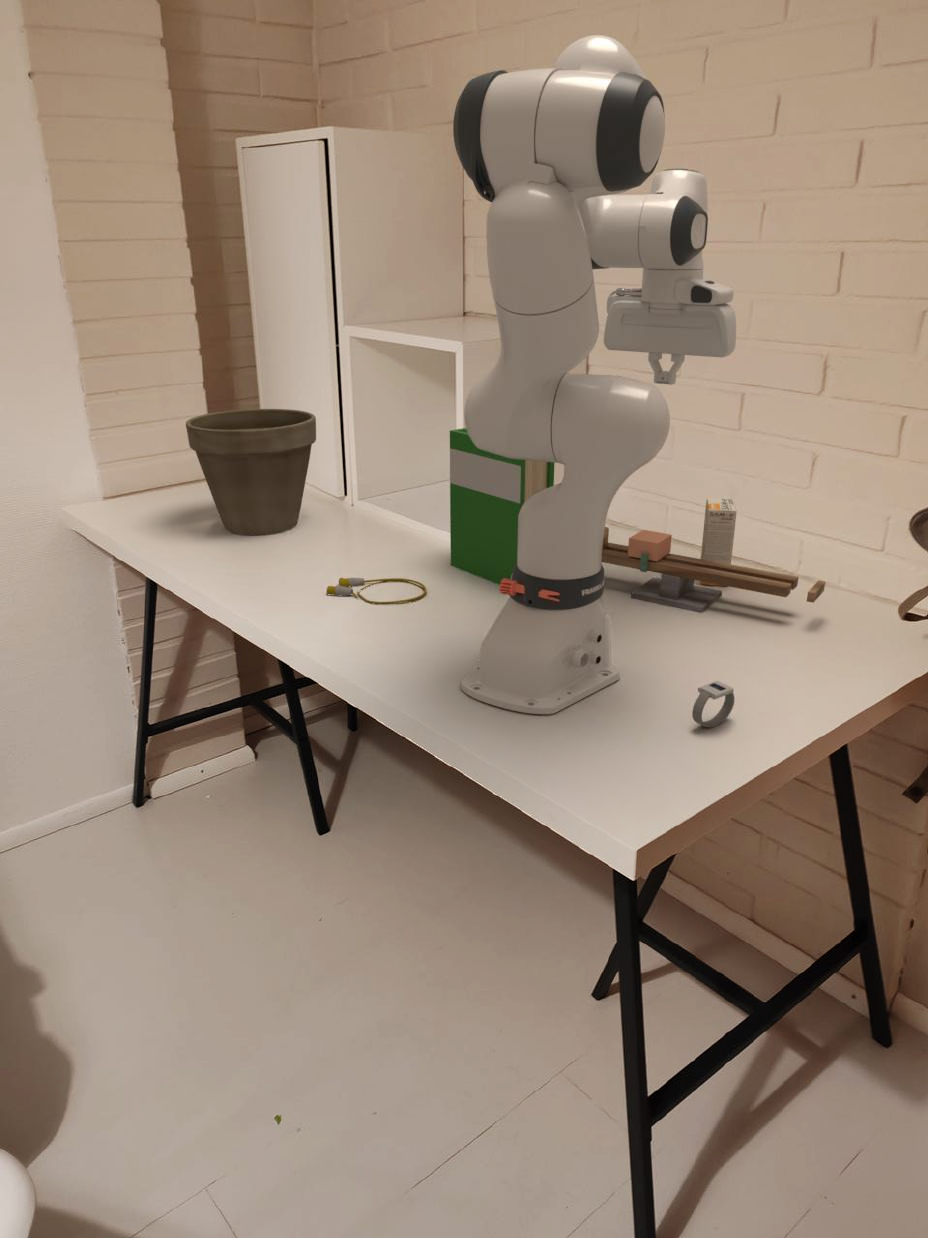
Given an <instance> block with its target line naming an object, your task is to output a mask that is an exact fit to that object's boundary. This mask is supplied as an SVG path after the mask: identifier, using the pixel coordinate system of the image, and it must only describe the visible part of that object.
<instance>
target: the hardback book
mask: <svg viewBox="0 0 928 1238" xmlns="http://www.w3.org/2000/svg"><path fill="white" fill-rule="evenodd" d="M449 475H450V476H449V491H450V492H449V496H450V497H449V498H450V499H449V503H450V505H449V507H450V508H449V512H450V518H449V519H450V522H449V523H450V526H449V527H450V566H451V567H453V568H456V569H459V570H461V571H463V572H465V573H469V574H471V575H473V576H476V577H478V578H481V579H484V580H485V581H489V582H490V583H491V582H492V583H494V584H497V585H499V586H500V583H502V582H501V580H502V579H503V578H506V579H509V580H511V575H512V573H513V570H514V566H515V564H516V563H517V549H518V515H519V512H520V509H521V507H522V506H523V504H524V503H525V501H526V500H527V499H528V498H530V497H531V496H532V495H534V494H536V493H538V492H540V491H542V490H544V489H546V488H549V487H551V486H554V485H555V463H554V462H543V461H531V460H520V459H510V458H507V457H503V456H500V455H496V454H493V453H490V452H487V451H484V450H481V449H478V448H477V447H476V446H475V444H474V443H473V442H472V440H471V438H470V437H469V434H468V432H467V429H466V427H464V428H458V429H451V430H449Z"/></svg>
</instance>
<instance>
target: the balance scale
mask: <svg viewBox="0 0 928 1238" xmlns="http://www.w3.org/2000/svg"><path fill="white" fill-rule="evenodd" d="M609 530H610V529H609V527H607V526H605V529H604V537H603V547H602V560H601V563H605V564H608V565H609V564H610V565H615V566H621V567H626V568H630V569H635V570H636V569H637V570H639V572H641V573H647V572H652V573H656V574H657V573H658V574H661V575H660V578H657V577H652V578H650V579H649V580H646V582H644V583H643V584H641V586H639V587H638V588H636V589H634V590H633V591H632V592H631V593H630V598H631V599H634V600H635V599H636V600H640V601H644V602H650V603H655V604H659V605H664V606H669V607H675V608H678V609H679V608H680V609H684V610H688V611H693V612H697V613H704V611H705V610H707V609H708V608H709V607H710V606H711V605H713V604H714V603H715V602H716V601H717V600H719V598H720V597H722V595H723V590H720V589H715V588H711V587H705V586H701V585H699V586H698V585H694V584H695V581H699V582H701V581H703V582H708V583H713V584H718V585H724V586H723V587H731V588H736V589H740V590H745V591H751V592H754V593H755V592H756V593H761V594H765V595H766V594H767V595H772V596H777V597H782V598H787V597H788V596H789V595H790V594H791V590H792V591H794V590H795V589H796V588H797V587H798V584H799V576H798V575H797V576H796V575H792V574H785V573H780V572H775V571H770V570H769V571H768V570H763V569H758V568H752V567H748V566H747V567H746V566H742V565H737V564H736V565H735V564H732V563H731V564H725V563H720V562H714V561H709V560H703V559H701V558H697V557H690V556H685V555H682V554H681V555H680V554H674V553H671V552H670V553H668V554H667V555H665V556H664V557H663V558H662V560H658V561H652V560H648V553H641V558H636V557H630V556H628V545H624V544H617V543H613V542H609V533H610V531H609ZM825 587H826V581H825V580H817V581H816V583H815V584H813V586H811V588H810V589H809V590H808V591H807V596H806V602H809V603H813V604H814V603H815V602H816V600H818V599H819V597H820V596H821V595H822V594H823V593H824V592H825Z"/></svg>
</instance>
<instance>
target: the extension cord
mask: <svg viewBox="0 0 928 1238" xmlns="http://www.w3.org/2000/svg"><path fill="white" fill-rule="evenodd" d="M387 581H393V582H398V581H400V582H401V583H406V582H407V583H406V584H409V583H410V585H412V584H413V586H415V587H418V588H419V589H422V590H423V593H422V594H420V595H418V596H415V597H411V598H407V599H402V600H393V601H376V600H375V601H373V600H369V599H367V598H366V597H364V596H363V595H362V594H360V592H358V591H356V593H355V592H354V589H353V587H352V586H356V587H359V586H358V585H361V586H364V587H362V588H360V589H359V590H362V591H364V590H365V589H367V588H368V587H372V586H374V584H375V585H378V584H382V582H383V583H388V582H387ZM373 582H374V583H373ZM400 582H399V583H400ZM365 583H370V584H368V585H366V586H365ZM377 583H378V584H377ZM339 585H340V586H339ZM371 585H372V586H371ZM349 586H351V587H349ZM366 587H367V588H366ZM364 588H365V589H364ZM357 593H358V594H357ZM327 594H334V595H333V596H335V595H351V594H353V595H352V596H354V598H355V599H356V598H360V599H362V600H363V601H365V602H366V601H367V603H370V604H372V603H375V604H374V605H379V604H397V605H404V604H405V603H406V604H410V603H409V602H411V603H413V602H416V600H417V601H419V600H421V599H423V598H425V597H426V595H427V594H428V591H427V587H426V586H425V584H423V583H422V582H419V581H417V580H413V579H409V578H397V577H395V578H394V577H391V578H376V579H368V580H367V579H364V578H363V577H347V578H343V577H340V578H339V579H338V585H335V586H334V585H328V586H327V587H326V595H327ZM358 595H359V596H358Z"/></svg>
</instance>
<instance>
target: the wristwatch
mask: <svg viewBox="0 0 928 1238" xmlns="http://www.w3.org/2000/svg"><path fill="white" fill-rule="evenodd" d="M697 692H698V693H699V694H698V696H697V698H696V699H695V702H694V704H693V708H692V711H691V712H692V719H693V721H694V722H695V723H696V724H697V725H700V726H702V727H705V728H715V727H717V726H719V725H721V724H722V723H723V722H724V721H725V720H726V719H727V718H728V717H729V715H730V714H731V712H732V711H733V708H734V706H735V695H734V687H732V686H730V685H729V684H725V683H723V682H721V681H719V680H715V681H713V682H710V683H708V684H703V685H702V686H699V687H698V688H697ZM722 697H724V702H723V704H722V706H721V708H720V710H719V711H718V713H716V714H715V715H714V717H712V718H711V719H709V720H707V721H703V711H704V708H705V706H706V704H707V702H708V700H709V699H711V700H717V699H720V698H722Z"/></svg>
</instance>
